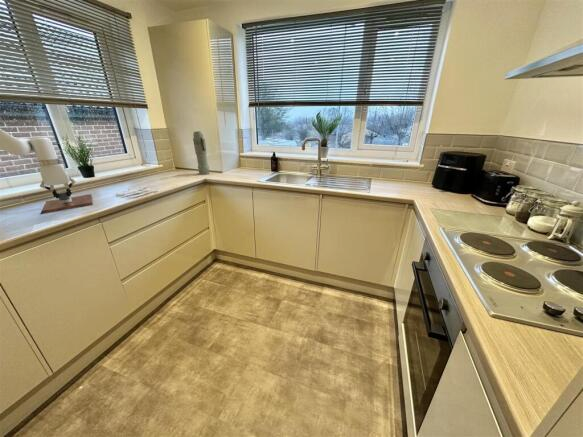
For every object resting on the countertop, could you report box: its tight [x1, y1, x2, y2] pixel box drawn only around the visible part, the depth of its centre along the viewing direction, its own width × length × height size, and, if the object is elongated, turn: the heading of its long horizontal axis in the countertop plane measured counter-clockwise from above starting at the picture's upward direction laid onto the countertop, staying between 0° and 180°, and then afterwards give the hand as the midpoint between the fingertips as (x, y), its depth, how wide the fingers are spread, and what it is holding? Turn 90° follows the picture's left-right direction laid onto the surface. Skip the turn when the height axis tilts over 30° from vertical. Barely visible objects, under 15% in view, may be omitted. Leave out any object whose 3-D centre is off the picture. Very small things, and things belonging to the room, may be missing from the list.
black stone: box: [57, 190, 70, 201], centre depth 129 cm, size 4×4×4 cm
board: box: [39, 193, 94, 215], centre depth 136 cm, size 22×22×2 cm
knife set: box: [114, 181, 178, 199], centre depth 161 cm, size 26×35×1 cm
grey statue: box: [192, 130, 210, 176], centre depth 203 cm, size 9×12×35 cm
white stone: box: [62, 195, 72, 203], centre depth 135 cm, size 4×4×4 cm
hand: (63, 196), depth 129 cm, fingers closed on black stone, 4 cm apart
